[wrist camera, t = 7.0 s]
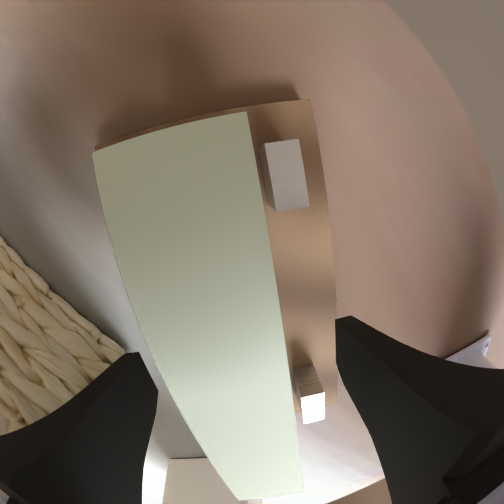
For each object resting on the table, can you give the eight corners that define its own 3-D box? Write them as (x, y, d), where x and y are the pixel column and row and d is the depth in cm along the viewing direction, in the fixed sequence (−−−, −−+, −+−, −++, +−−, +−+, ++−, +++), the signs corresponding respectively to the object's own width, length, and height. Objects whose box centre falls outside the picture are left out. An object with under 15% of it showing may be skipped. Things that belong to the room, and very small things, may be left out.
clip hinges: (314, 389, 15) (324, 418, 13) (204, 408, 15) (202, 438, 13) (285, 145, 11) (298, 139, 9) (129, 178, 11) (105, 181, 9)
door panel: (282, 394, 15) (304, 491, 8) (234, 402, 15) (238, 500, 8) (238, 146, 11) (246, 111, 4) (170, 161, 11) (91, 152, 4)
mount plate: (331, 391, 17) (336, 402, 16) (193, 415, 17) (192, 427, 16) (303, 105, 12) (309, 99, 11) (105, 148, 12) (94, 146, 10)
